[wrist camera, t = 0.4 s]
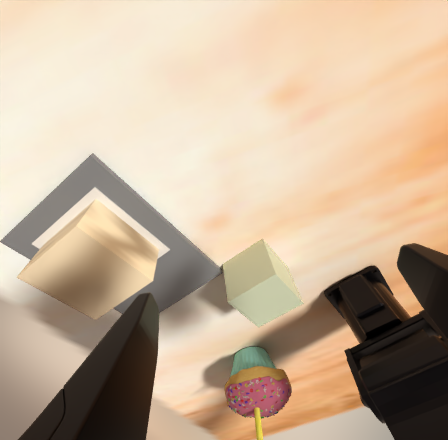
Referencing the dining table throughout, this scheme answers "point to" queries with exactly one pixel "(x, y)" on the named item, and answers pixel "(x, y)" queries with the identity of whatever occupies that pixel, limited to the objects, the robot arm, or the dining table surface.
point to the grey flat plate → (131, 214)
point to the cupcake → (256, 386)
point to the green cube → (260, 284)
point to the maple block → (93, 262)
